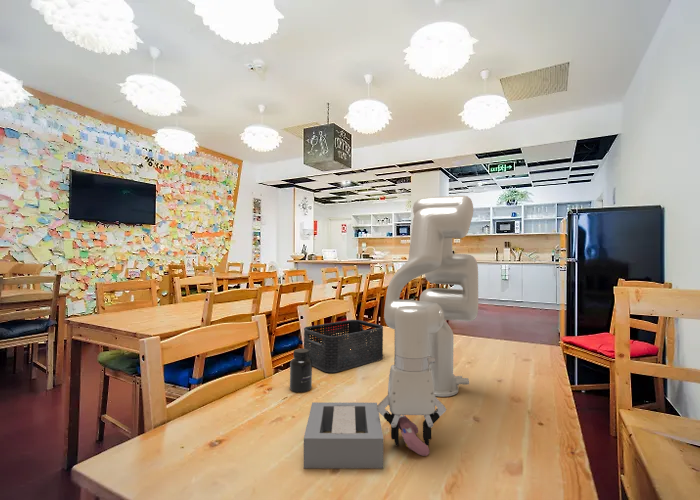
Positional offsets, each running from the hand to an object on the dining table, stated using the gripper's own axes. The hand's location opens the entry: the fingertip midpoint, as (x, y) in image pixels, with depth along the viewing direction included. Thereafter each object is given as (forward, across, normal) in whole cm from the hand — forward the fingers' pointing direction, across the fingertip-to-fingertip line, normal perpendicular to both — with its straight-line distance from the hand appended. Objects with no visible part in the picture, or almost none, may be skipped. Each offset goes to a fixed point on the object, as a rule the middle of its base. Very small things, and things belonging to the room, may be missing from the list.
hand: (411, 441), depth 77 cm
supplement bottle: (+1, +29, -31) cm, 42 cm away
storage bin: (+1, +16, -59) cm, 61 cm away
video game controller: (+1, 0, 0) cm, 1 cm away
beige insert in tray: (-4, +15, 0) cm, 15 cm away
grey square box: (+1, +15, 0) cm, 15 cm away
